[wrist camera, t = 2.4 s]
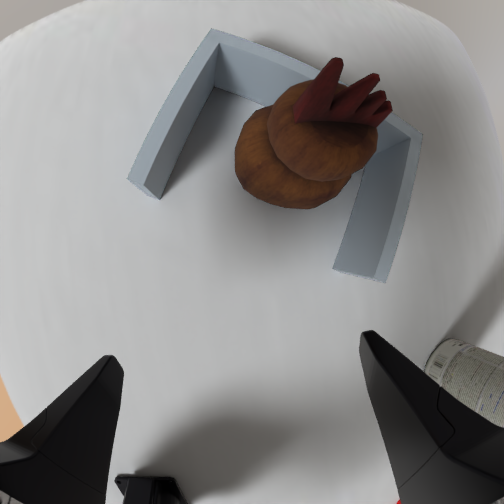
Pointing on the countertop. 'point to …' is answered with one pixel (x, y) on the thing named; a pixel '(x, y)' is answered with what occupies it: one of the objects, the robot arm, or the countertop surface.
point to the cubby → (266, 93)
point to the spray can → (470, 377)
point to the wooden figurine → (311, 139)
